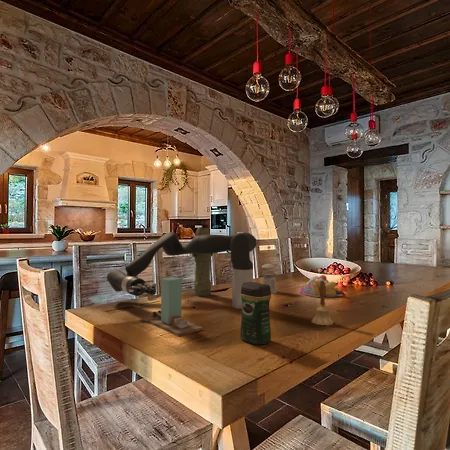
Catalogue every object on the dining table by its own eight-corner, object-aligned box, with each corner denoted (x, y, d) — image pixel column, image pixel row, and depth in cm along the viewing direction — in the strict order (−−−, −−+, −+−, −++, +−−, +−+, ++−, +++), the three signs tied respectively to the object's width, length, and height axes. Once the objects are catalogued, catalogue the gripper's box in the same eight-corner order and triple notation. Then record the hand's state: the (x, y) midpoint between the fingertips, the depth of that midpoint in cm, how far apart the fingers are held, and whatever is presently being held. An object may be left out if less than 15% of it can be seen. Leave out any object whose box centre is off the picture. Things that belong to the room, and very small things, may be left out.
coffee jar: (275, 341, 103) (275, 283, 103) (258, 347, 98) (258, 286, 98) (252, 333, 111) (253, 279, 110) (236, 339, 105) (236, 281, 105)
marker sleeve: (161, 321, 119) (161, 278, 119) (173, 318, 123) (174, 276, 123) (168, 324, 116) (168, 280, 116) (181, 321, 119) (181, 278, 119)
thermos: (216, 294, 170) (217, 227, 170) (198, 297, 163) (198, 227, 162) (206, 291, 177) (207, 227, 177) (188, 294, 170) (188, 227, 169)
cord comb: (142, 319, 125) (142, 310, 125) (165, 315, 132) (165, 306, 132) (178, 336, 107) (178, 325, 107) (202, 329, 114) (202, 319, 114)
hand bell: (330, 327, 118) (331, 283, 117) (308, 323, 122) (308, 281, 122) (336, 321, 125) (336, 280, 125) (314, 318, 129) (315, 278, 129)
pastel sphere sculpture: (353, 297, 168) (353, 279, 168) (313, 300, 161) (313, 281, 161) (325, 288, 192) (325, 272, 192) (289, 289, 185) (289, 273, 185)
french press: (280, 291, 180) (280, 246, 180) (271, 294, 170) (272, 247, 170) (264, 289, 186) (264, 245, 185) (255, 292, 176) (255, 246, 176)
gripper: (147, 292, 146) (168, 299, 133) (118, 296, 137) (138, 304, 124) (147, 275, 146) (168, 280, 133) (119, 278, 137) (138, 284, 124)
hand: (154, 292), depth 128 cm, fingers closed
